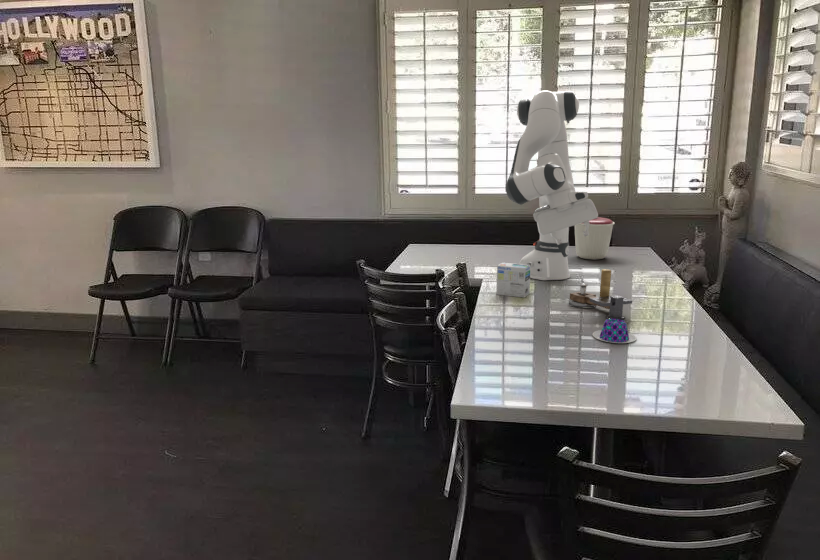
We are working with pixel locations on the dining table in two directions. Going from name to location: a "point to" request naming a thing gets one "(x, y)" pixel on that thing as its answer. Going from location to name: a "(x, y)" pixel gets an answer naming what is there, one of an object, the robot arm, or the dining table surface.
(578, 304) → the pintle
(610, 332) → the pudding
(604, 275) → the link
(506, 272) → the light bulb box
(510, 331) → the dining table surface
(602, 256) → the canister
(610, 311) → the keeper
